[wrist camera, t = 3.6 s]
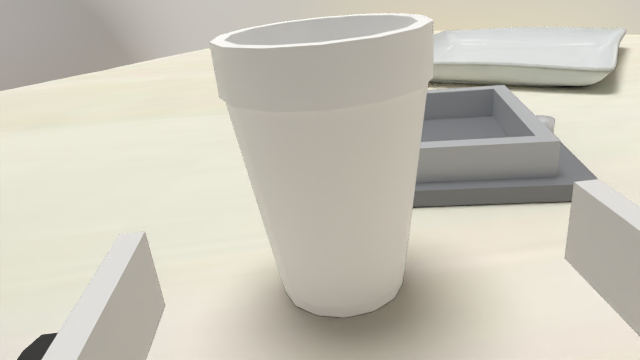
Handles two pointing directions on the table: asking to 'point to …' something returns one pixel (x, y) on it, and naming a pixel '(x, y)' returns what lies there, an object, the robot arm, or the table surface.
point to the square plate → (526, 55)
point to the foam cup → (331, 147)
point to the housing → (490, 152)
